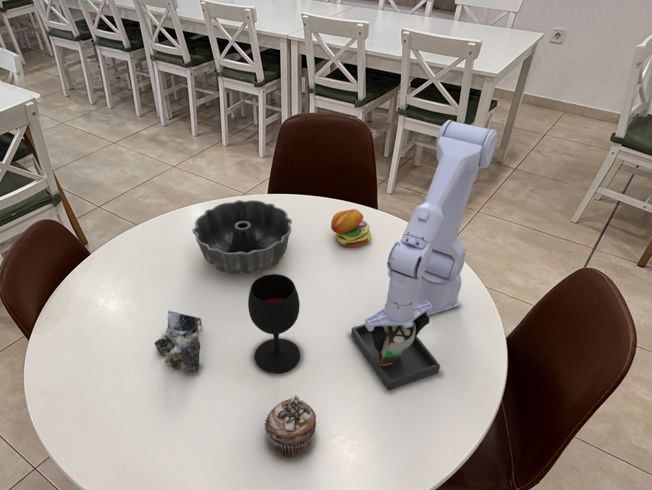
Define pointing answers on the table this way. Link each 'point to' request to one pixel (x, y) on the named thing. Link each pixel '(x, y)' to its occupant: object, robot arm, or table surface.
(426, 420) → the table surface
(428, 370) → the dark gray tray
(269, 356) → the wine glass
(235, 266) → the bundt pan
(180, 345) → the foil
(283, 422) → the cupcake
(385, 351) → the food container
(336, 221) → the cheeseburger
